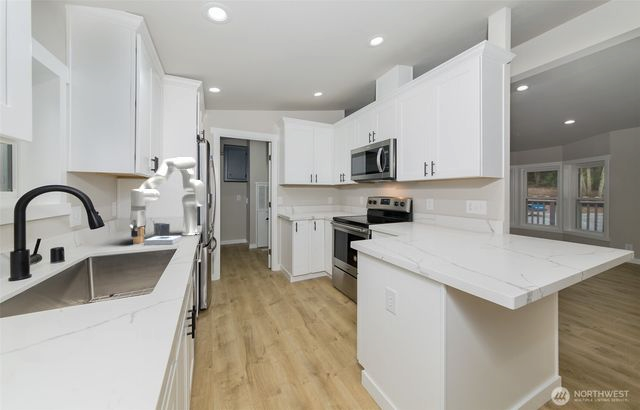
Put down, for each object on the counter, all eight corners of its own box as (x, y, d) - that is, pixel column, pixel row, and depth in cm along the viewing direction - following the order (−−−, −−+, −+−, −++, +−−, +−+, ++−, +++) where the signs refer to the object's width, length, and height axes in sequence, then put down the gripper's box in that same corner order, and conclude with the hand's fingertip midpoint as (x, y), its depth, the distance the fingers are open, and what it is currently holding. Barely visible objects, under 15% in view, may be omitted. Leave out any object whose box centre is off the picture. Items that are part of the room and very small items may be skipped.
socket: (155, 240, 170) (155, 236, 170) (181, 240, 173) (181, 235, 173) (144, 245, 154) (143, 240, 154) (172, 244, 157) (172, 239, 157)
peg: (136, 242, 162) (136, 227, 161) (144, 242, 162) (144, 227, 162) (133, 243, 157) (132, 227, 157) (140, 243, 158) (140, 227, 158)
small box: (170, 238, 179) (170, 223, 179) (160, 239, 174) (160, 224, 174) (163, 236, 185) (163, 222, 185) (153, 238, 180) (153, 223, 180)
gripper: (138, 208, 167) (138, 233, 167) (123, 209, 150) (123, 238, 150) (151, 208, 168) (151, 233, 169) (138, 209, 151) (138, 237, 152)
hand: (138, 235), depth 160 cm, fingers open, 9 cm apart
